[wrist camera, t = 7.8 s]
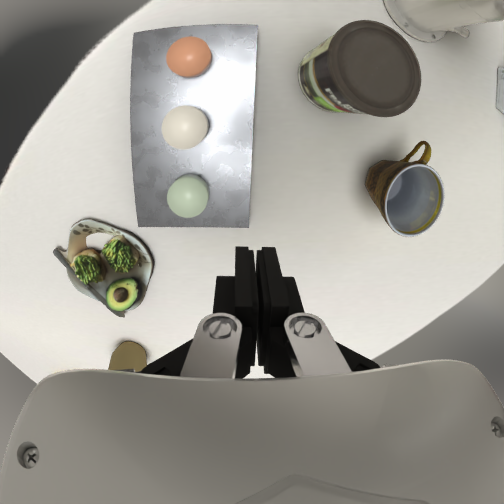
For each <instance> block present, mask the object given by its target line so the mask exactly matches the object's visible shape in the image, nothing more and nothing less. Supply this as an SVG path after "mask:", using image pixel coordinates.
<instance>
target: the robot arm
mask: <svg viewBox="0 0 504 504" xmlns="http://www.w3.org/2000/svg"><path fill="white" fill-rule="evenodd" d="M384 4H385V6H386V9H387V11H388V12H389V14H390V16H391V17H392V19H393V20H394V21H395V23H396V24H397V25H398V26H399V27H400V28H401V29H402V30H404V31H405V32H406V33H407V34H409V35H410V36H412V37H414V38H416V39H418V40H421V41H425V42H433V41H437V40H440V39H441V38H443V36H444V35H445V33H446V31H449V30H450V31H451V32H454V31H455V32H457V33H458V34H460V35H461V36H463V37H465V38H467V37H468V36H469V30H468V29H466V28H464V27H463V26H466V25H473V24H479V23H487V22H496V21H503V20H504V0H384ZM256 340H257V353H258V365H259V366H264V374H270V375H272V376H273V377H275V378H259V379H243V378H244V377H245V376H247V375H248V374H249V373H250V366H254V365H255V353H256ZM0 504H504V407H503V405H502V403H501V402H500V400H499V398H498V396H497V395H496V393H495V392H494V390H493V388H492V387H491V385H490V384H489V382H488V381H487V379H486V378H485V377H484V376H483V374H482V373H481V372H480V371H479V370H478V369H477V368H476V367H474V366H473V365H471V364H468V363H465V362H462V361H454V360H431V361H423V362H417V363H410V364H404V365H385V364H384V365H383V367H380V366H379V365H378V364H376V363H375V362H373V361H372V360H370V359H368V358H366V357H364V356H362V355H360V354H358V353H356V352H354V351H352V350H351V349H349V348H347V347H345V346H343V345H341V344H339V343H337V342H336V341H334V339H333V337H332V335H331V334H330V332H329V330H328V328H327V327H326V325H325V323H324V322H323V321H322V319H320V318H319V317H317V316H315V315H313V314H309V313H305V312H304V309H303V305H302V302H301V299H300V295H299V292H298V289H297V285H296V282H295V279H294V277H282V273H281V269H280V265H279V261H278V257H277V253H276V249H275V247H262V250H257V258H256V272H255V262H254V252H253V250H248V247H236V252H235V276H217V278H216V287H215V296H214V306H213V314H210V315H208V316H206V317H204V318H203V319H202V320H201V321H200V323H199V325H198V327H197V330H196V333H195V335H194V338H193V339H191V340H190V341H188V342H186V343H185V344H183V345H181V346H180V347H178V348H176V349H175V350H173V351H171V352H169V353H168V354H166V355H164V356H163V357H161V358H159V359H157V360H156V361H154V362H152V363H150V364H149V365H147V366H146V367H145V368H143V369H142V371H138V372H135V370H134V369H122V370H104V369H73V370H67V371H61V372H57V373H54V374H51V375H48V376H47V377H45V378H43V379H42V380H41V381H40V382H39V383H38V384H37V385H36V387H35V388H34V389H33V391H32V392H31V394H30V395H29V397H28V399H27V400H26V402H25V404H24V406H23V408H22V410H21V412H20V414H19V417H18V419H17V421H16V424H15V426H14V429H13V431H12V434H11V437H10V440H9V443H8V446H7V449H6V452H5V456H4V459H3V463H2V466H1V470H0Z"/></svg>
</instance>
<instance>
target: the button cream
mask: <svg viewBox="0 0 504 504" xmlns="http://www.w3.org/2000/svg"><path fill="white" fill-rule="evenodd" d="M208 127H209V124H208V119H207V117H206V115H205V114H204V112H203V111H201V110H200V109H198V108H196V107H193V106H179V107H176V108H174V109H172V110H171V111H170V112H168V114H167V115H166V116H165V118H164V120H163V123H162V135H163V137H164V139H165V141H166V142H167V143H168V144H169V145H170V146H172V147H174V148H176V149H181V150H185V149H190V148H193V147H195V146H196V145H198V144H199V143H200V142H201V141H202V140H203V139H204V138H205V136H206V135H207V132H208Z"/></svg>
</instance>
